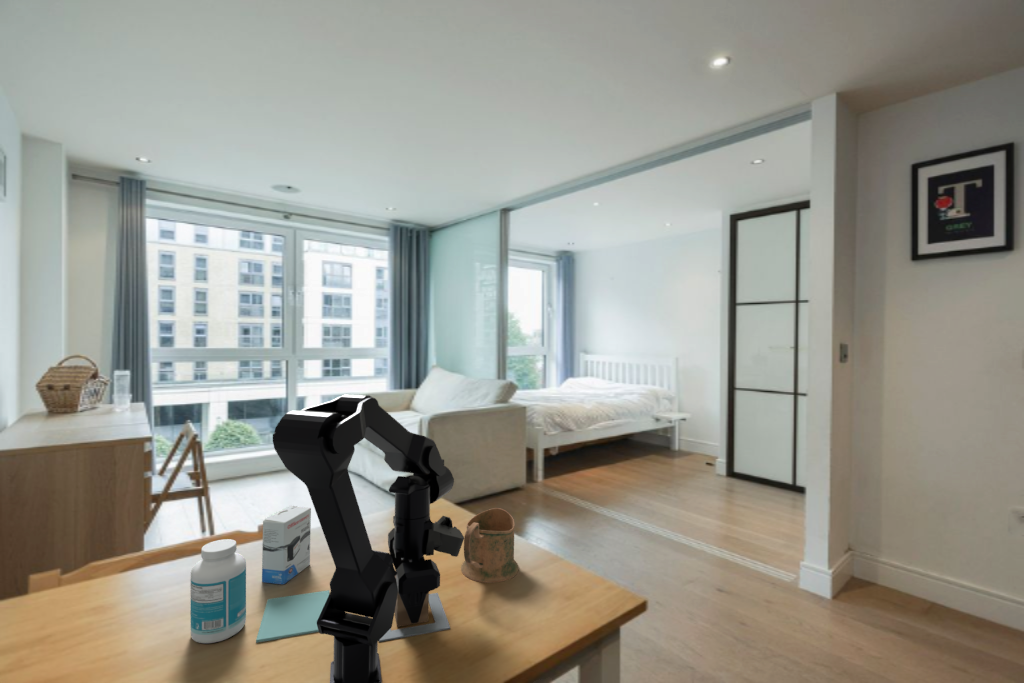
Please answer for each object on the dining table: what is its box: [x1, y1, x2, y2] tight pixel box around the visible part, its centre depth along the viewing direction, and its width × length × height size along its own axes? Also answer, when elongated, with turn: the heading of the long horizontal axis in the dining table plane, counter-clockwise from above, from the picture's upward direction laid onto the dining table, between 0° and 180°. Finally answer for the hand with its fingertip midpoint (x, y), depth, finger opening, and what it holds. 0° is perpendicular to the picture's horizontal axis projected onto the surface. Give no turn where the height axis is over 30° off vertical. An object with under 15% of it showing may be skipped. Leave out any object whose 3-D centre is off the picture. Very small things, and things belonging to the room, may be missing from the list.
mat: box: [255, 589, 330, 644], centre depth 80 cm, size 12×10×1 cm
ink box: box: [261, 505, 312, 585], centre depth 94 cm, size 8×5×12 cm, turn 168°
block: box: [394, 575, 430, 628], centre depth 80 cm, size 5×5×6 cm
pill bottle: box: [190, 538, 247, 644], centre depth 75 cm, size 8×7×14 cm
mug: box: [460, 507, 519, 584], centre depth 94 cm, size 12×18×12 cm, turn 161°
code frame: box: [378, 592, 451, 643], centre depth 80 cm, size 11×11×1 cm
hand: (410, 607), depth 80 cm, fingers open, 9 cm apart
